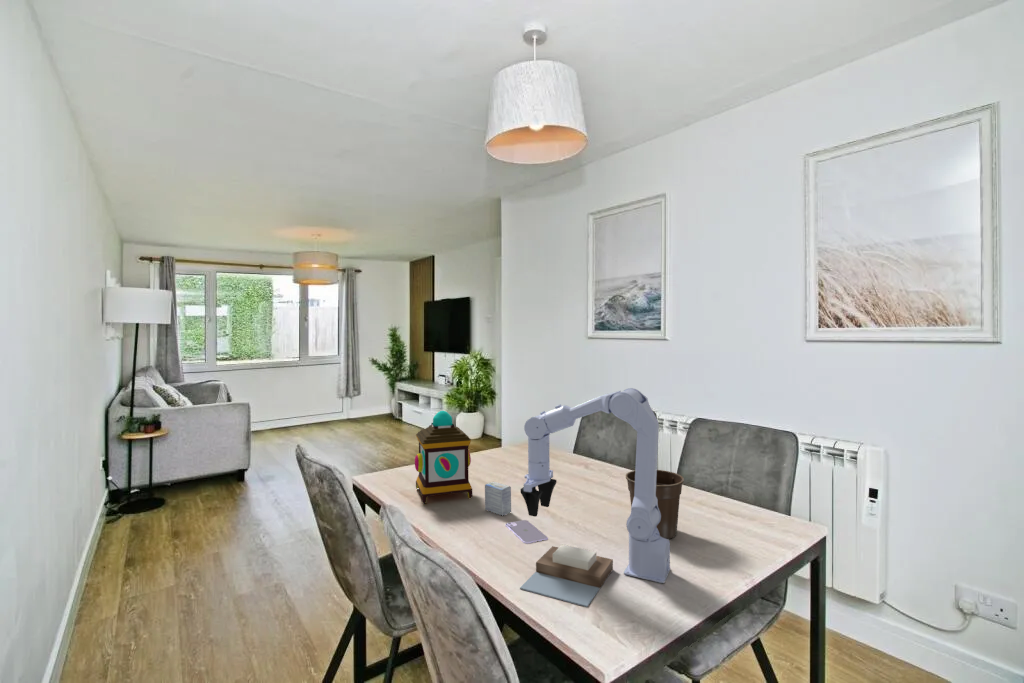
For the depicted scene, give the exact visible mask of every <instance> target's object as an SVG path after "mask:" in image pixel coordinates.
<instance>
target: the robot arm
mask: <svg viewBox="0 0 1024 683" xmlns="http://www.w3.org/2000/svg"><path fill="white" fill-rule="evenodd" d="M597 412H603V413H606V414H611V413H612V414H613V416H614V417H616V418H618V419H619V420H622V421H624V422H625V423H627V424H629V425H630V426H631V427H632V428H633V430H635V432H636V448H635V449H636V451H635V467H634V468H635V490H634V499H633V503H632V507H630V514H629V516H628V518H627V520H626V529H627V531H628V532H627V533H628V565H626V568H625V570H624V571H623V575H625V576H630V577H634V578H635V577H636V578H639V579H643V580H647V581H653V582H656V583H660V584H665V582H666V580H667V578H668V575H669V573H670V571H671V564H670V563H671V562H670V561H671V555H670V554H671V545H670V539H665V538H663V537H661V536H660V533H659V531H658V529H657V525H658V524H659V522H660V520H661V513H660V510H659V508H658V499H657V497H656V477H657V470H658V456H659V454H658V452H659V451H658V450H659V430H660V424H659V423H660V422H659V421H658V419H657V417H656V414H655V413H654V411H653V409H652V407H651V405H650V403H649V399H648V397H646V396H645V395H644V393H642V392H641V391H640V390H638V389H636V388H633V387H630V388H626V389H624V390H622V391H621V390H618V391H613V392H609V393H605V394H602V395H599V396H596V397H594V398H592V399H590V400H588V401H585V402H583V403H581V404H580V403H579V404H577V405H576V406H569V405H566V404H563V405H562V404H558V405H555V406H554V408H553V409H551V410H548V411H545V410H543V411H541V412H540V413H539V414H538V415H535V416H532V417H529V419H527V420H526V421H525V423H524V426H523V427H524V428H523V429H524V433H525V434H526V436H527V460H528V461H527V462H528V464H527V466H528V468H527V470H528V472H527V473H526V474H524V479H526V480H525V482H524V483H523V487H522V488H520V494H521V496H522V498H523V499H524V502H525V505H526V509H527V512H528V516H530V517H538V513H539V507H540V506H541V507H545V508H549V507H550V504H551V499H552V494H553V491H554V489H555V486H556V484H557V479H554V478H553V477H554V470H551V469H550V435H551V434H554V433H557V432H560V431H563V430H565V429H568V428H571V427H573V426H574V425H575V422H576V420H577V419H581V418H583V417H586V416H589V415H592V414H596V413H597ZM536 487H537V488H538V490H537V488H536ZM539 504H540V506H539Z"/></svg>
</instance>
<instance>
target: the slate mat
mask: <svg viewBox="0 0 1024 683" xmlns="http://www.w3.org/2000/svg"><path fill="white" fill-rule="evenodd" d="M519 589H520V590H523V591H527V592H530V593H534V594H537V595H541V596H544V597H547V598H552V599H556V600H560V601H562V600H563V601H564V602H566V603H570V604H575V605H578V606H580V607H584V608H588V607H589V606H590V604H591V602H592V601H593V600H594V598H595V596H597V593H598V592H599V590H600V589H601V588H598V587H594V586H590V585H586V584H582V583H578V582H574V581H570V580H566V579H562V578H558V577H554V576H550V575H546V574H542V573H538V572H536V571H535V572H534V573H533V574H532V575H531V576H530V577H528V579H527V580H526V581H525V582H524V583H523V584H521V586H520V587H519Z"/></svg>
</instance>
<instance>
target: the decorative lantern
mask: <svg viewBox="0 0 1024 683" xmlns="http://www.w3.org/2000/svg"><path fill="white" fill-rule="evenodd" d="M415 436H416V439H417V441H418V453H417V454H416V455H415V457H414V467H415V470H416V472H418V475H417V477H416V480H415V488H416V489H417V488H419V490H418V491H419V492H420V494H421V501H422V504H423V503H426V504H427V501H428V500H427V499H428V497H430V496H431V497H432V496H440V495H448V494H459V493H464V492H465V493H466V494H467V498H468V497H469V498H471V497H473V488H472V485H471V483H470V480H469V479H470V478H469V467H470V466H471V462H472V458H471V453H470V450H469V446H470V444H471V441H472V439H471V437H469V435H468V434H466V433H465V432H464V431H463V430H462V429H461V428H460V427H458V426H456V425H455V424H454V423H453V417H452V415H451V414H450V413H449V412H448V411H446V410H440V411H438V412H437V413H436V414H434V416H433V418H432V422H431V424H430V425H428V427H426V428H421V429H420V430H419V431H417V433H416V434H415ZM469 498H468V499H469ZM471 499H472V498H471Z"/></svg>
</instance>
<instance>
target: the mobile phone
mask: <svg viewBox="0 0 1024 683" xmlns="http://www.w3.org/2000/svg"><path fill="white" fill-rule="evenodd" d="M504 527H506V528H507V529H508V530H509V531H510V532H511V531H512V532H513V533H514V534H513V535H515V537H516V538H518V539H519V540H520V542H522V543H523V544H525V543H526V544H527V545H528V543H529V544H534V543H537V542H538V541H539V542H543V541H542V540H544V541H548V536H547V535H546V534H544V532H542V531H541V530H539V529H538V528H537V527H536V525H533V524H532V523H531V522H530V521H529V520H527V519H523V520H522V519H521V520H517V521H511V522H507V523H505V524H504ZM512 532H511V533H512ZM536 541H537V542H536ZM533 542H534V543H533ZM526 544H525V545H526Z"/></svg>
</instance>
